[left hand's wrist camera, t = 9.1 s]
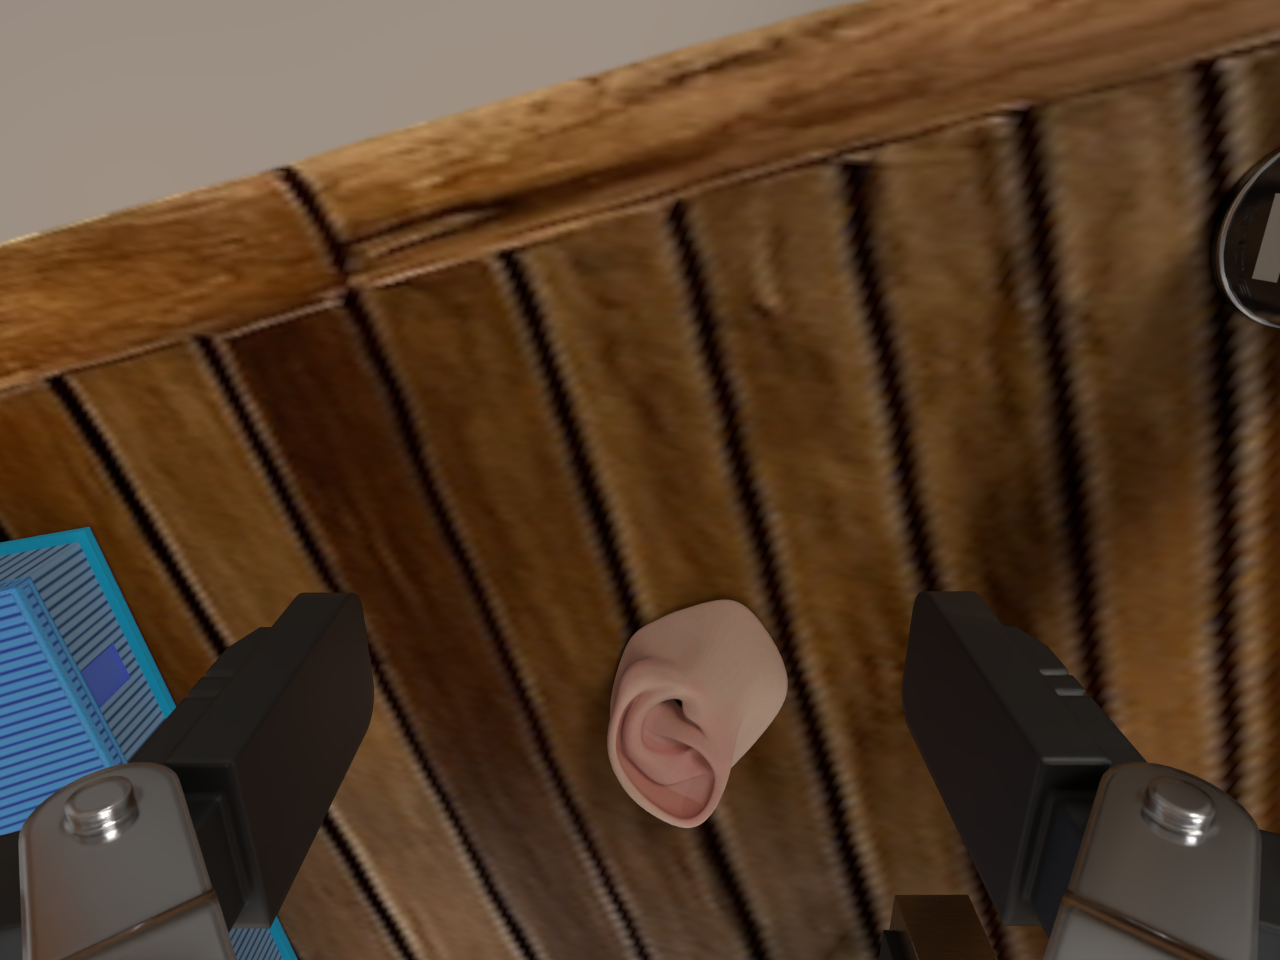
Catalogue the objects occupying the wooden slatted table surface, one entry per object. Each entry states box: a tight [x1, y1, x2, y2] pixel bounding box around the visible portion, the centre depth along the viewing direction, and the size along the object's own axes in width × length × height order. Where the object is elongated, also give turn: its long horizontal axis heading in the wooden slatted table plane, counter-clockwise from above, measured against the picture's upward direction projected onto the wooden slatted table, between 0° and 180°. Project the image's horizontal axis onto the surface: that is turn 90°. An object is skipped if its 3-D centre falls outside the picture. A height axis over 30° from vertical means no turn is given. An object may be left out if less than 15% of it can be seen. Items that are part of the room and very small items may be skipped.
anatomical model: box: [607, 600, 788, 828], centre depth 48 cm, size 13×4×12 cm
